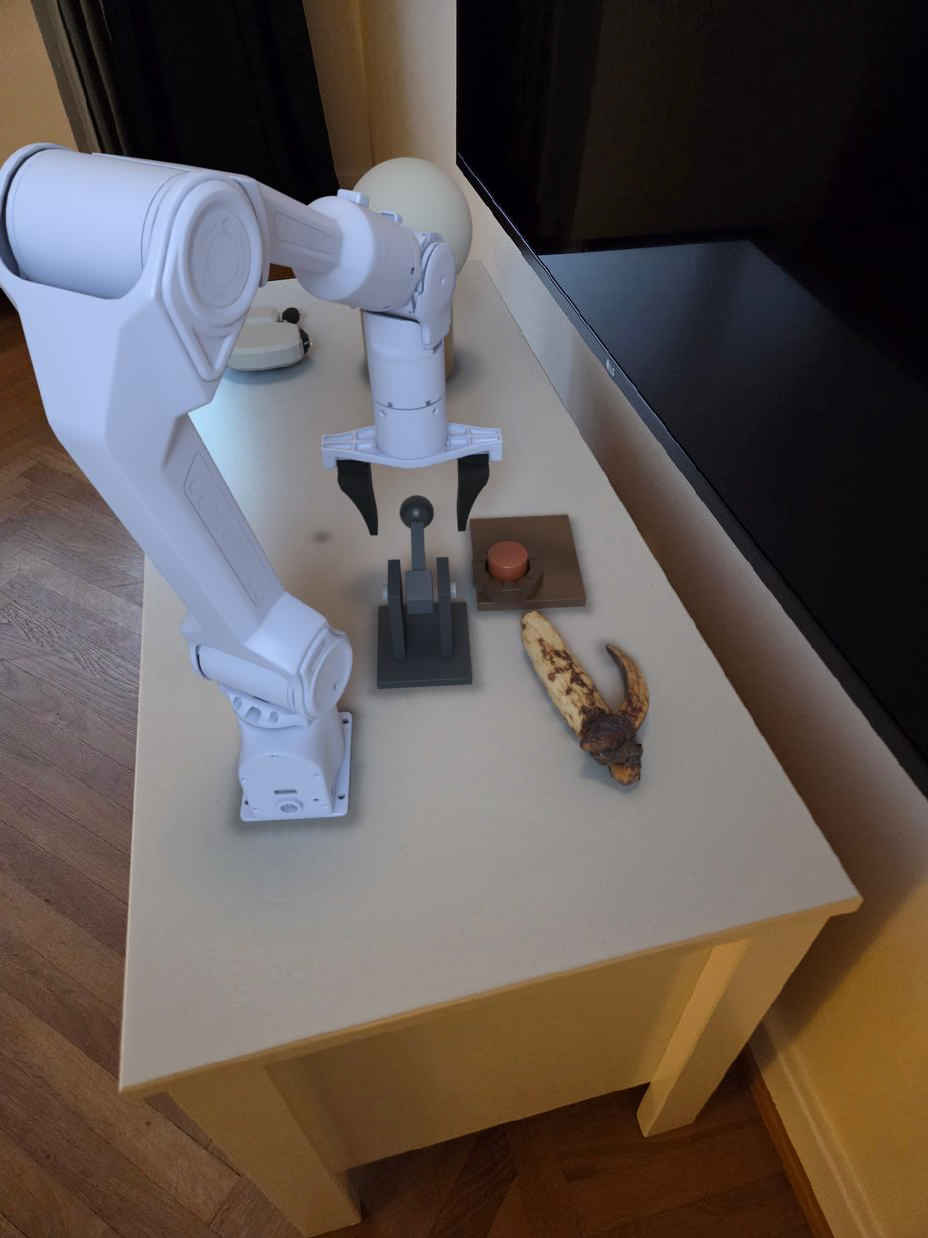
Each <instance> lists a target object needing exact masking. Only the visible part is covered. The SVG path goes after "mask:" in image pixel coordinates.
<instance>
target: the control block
mask: <svg viewBox="0 0 928 1238" xmlns="http://www.w3.org/2000/svg"><path fill="white" fill-rule="evenodd" d="M468 520H469V521H468V522H469V525H468V526H469V536H470V537H469V538H470V549H471V558H472V559H471V581H472V587H473V589H474V591H475V603H476V612H494V611H495V612H496V611H511V610H512V611H514V610H515V611H516V610H517V611H518V610H534V609H538V610H539V609H556V608H576V607H586V604H587V596H586V595H587V594H586V591H585V586H584V581H583V577H582V573H581V568H580V563H579V559H578V553H577V549H576V545H575V540H574V536H573V531H572V527H571V522H570V517H569V515H568V514H554V515H553V514H552V515H532V516H531V515H530V516H529V515H528V516H510V517H509V516H508V517H505V516H504V517H487V518H486V517H485V518H469V519H468ZM504 541H511V542H516V543H519V544H521V545H522V546H523V547H524V548H525V549H526V550H527V553H528V561H527V571H526V573H525V575H524V576H523V577H522V578H520V579H518V580H515V581H501V580H498V579H496V578H494V577H493V576H492V575H491V574H490V573H489V571H488V552H489V550H490V548H491V547H492V546H493V545H495V544H497V543H499V542H504Z"/></svg>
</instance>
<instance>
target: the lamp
mask: <svg viewBox="0 0 928 1238" xmlns="http://www.w3.org/2000/svg"><path fill="white" fill-rule="evenodd" d="M352 191H356V192H360V193H362V194H364V195H367V196H368V197H369V199H370V200H369V207H368V209H370V210H372V211H374V212H376V213H379V211H381V210H385V211H391V212H395V213H397V214H400V215H401V216H402V218H403V221H402V224H403V225H405V226H406V227H408V228H414V229H419V230H425V231H430V232H436V233H439V234H440V235H441V236H442V237H443V239H444V242H445V243H448V244H449V245H450V246H451V247H452V249H453V251H454V255H455V261H457V276H459V274H460V273H461V271H462V269H463V268H464V267H465V265H466V262H467V261H468V257H469V255H470V252H471V247H472V244H473V243H472V241H473V231H474V229H473V228H474V227H473V219H472V218H473V217H472V213H471V209H470V205H469V203H468V201H467V198H466V196H465V194H464V191H463V190H462V189H461V187H460V185H458V183H457V181H456V180H455V179H454V178H453V177H452V176H451V175H450V174H449V173H448V172H447V171H445V170H444V169H443V168H441V167H440V166H438V165H437V164H435V163H433V162H430V161H429V160H425V159H422V158H418V157H409V156H406V157H405V156H402V157H396V158H391V159H388V160H385V161H383V162H380V163H378V164H376V165H375V166H373V167H372V168H371V169H369V170H368V171H367V172H366V173H364V175H363V176H362V177H361V178H359V180H358V182H357V183H356V184H355V186H354V187H353V188H352ZM357 204H358V203H357ZM363 207H364V206H363ZM365 208H366V207H365ZM453 298H454V297H453ZM453 298H452V303H451V323H450V326H449V332H448V334H447V335H446V336H445V337H444V356H445V381H446V380H447V379H448V378H449V377H450V376H451V375H452V373H453V371H454V368H455V348H454V346H455V345H454V342H455V341H454V340H455V339H454V303H453V300H454V299H453ZM364 310H365V309H361V308H359V316H360V324H361V334H362V342H363V352H364V362H365V370H366V373H367V375H368V377H369V369H368V359H367V350H366V341H365V331H364V322H363V313H362V312H363V311H364Z"/></svg>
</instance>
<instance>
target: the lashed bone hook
mask: <svg viewBox="0 0 928 1238" xmlns="http://www.w3.org/2000/svg"><path fill="white" fill-rule="evenodd" d="M520 628H521V630H522V631H521V634H520V639H521V642H522V644H523V648H524V650H525V651H526V653H527V655H528V657H529V659H530V660H531V662H532V668H533V670H534V672H535V673H536V675H537V676H538V678H539V679H540V681H541V682H542V684H543V685H544V687H545V690H546V692H547V694H548V696H549V698H550V699H551V702H552V703H553V705H554V706H555V707H556V708H557V709H558V711H559V714H560V716H561V717H562V718H563V720H565V721H566V724H567V726H568V727H569V728H570V729H571V730H572V732H573V733H574V734H575V735H576V737H577V738H578V739H579V748H580V749H581V751H586V752H588V754H589V755H590V757H591V758H592V759H593V760H594V761H595V762H596V763H597V764H598V765H600V766H607V767H608V769H609V772H610V778H612V779H614V780H615V781H616V782H618V783H619V784H621V785H622V786H631V785H633V784H635V783H637V782H639V781H641V768H642V757H643V754H644V748H643V743H641V742H640V743H636V742H635V740H634V739H635V738H636V737H637V735H638V733H637V732H638V731H639V730H640V728H641V726H642V725H643V724H644V722H645V720H646V717H647V715H648V711H649V709H650V691H649V687H648V683H647V679H646V678H645V675H644V673H643V671H642V670H641V668H640V666H639V665H638V664H637V663H636V662H635V661H634V660H633V659H632V658H631V657H630V656H628V655H627V654H626V653H624V652H623V651H621V650H619V649H618V648H616V647H615V646H611V645H605V649H606V652H607V653H608V655H609V656H610V658H611V659H612V660H613V661H614V663H615V664H616V665H617V667H619V669H620V671H621V673H622V675H623V679H624V685H625V698H624V701H623V702H622V704H621V705H620V706H619V708H618V709H617V711H615V713H613V712H612V709H611V708H610V707H609V706H608V705H607V703H606V701H605V699H604V697H603V696H602V694H601V693H600V692H599V690H598V689H597V687H596V685H595V684H594V683H593V681H592V680H591V678H590V676H589V675H588V674H587V673H586V671H585V670H584V669H583V667H582V666H581V664H580V663H579V661H578V660H577V659H576V658H575V657H574V655H573V654H572V653H571V651H570V649H569V648H568V646H567V644H566V642H565V641H564V639H563V637H562V636H561V635H560V634H559V632H558V631H557V630H556V629H555V628H554V626H552V624H551V622H550V621H549V620H548V619H546V618H545V617H544V616H543V613H541V612H540V611H537V610H530V611H529V612H528V611H527V612H524V613H523V614H522V616H521V618H520Z"/></svg>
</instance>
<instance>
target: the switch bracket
mask: <svg viewBox="0 0 928 1238" xmlns="http://www.w3.org/2000/svg"><path fill="white" fill-rule="evenodd" d="M449 562H450V561H449V557H448V556H437V557H436V558H435V563H436V581H437V582H436V583H437V600H438V601H437V602H438V603H434V613H422V614H408V613H407V605H406V604H405V600H404V589H403V577H402V569H401V568H402V567H401V560H400V559H399V558H398V559H397V558H396V559H388V560H387V584H383V585H382V601H383V603H387V604H388V605H383V606H382V605H381V606H378V608H377V647H376V648H377V651H376V653H377V654H376V655H377V656H376V688H377V689H378V690H386V689H404V688H406V689H407V688H408V689H409V688H424V687H425V688H427V687H444V686H446V687H447V686H462V685H463V686H465V685H472V684H473V675H472V663H471V662H472V661H471V649H470V648H471V647H470V636H469V625H468V612H467V603H466V602H463V601H462V602H452V600H457V582H456V581H451V578H450V563H449Z"/></svg>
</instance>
